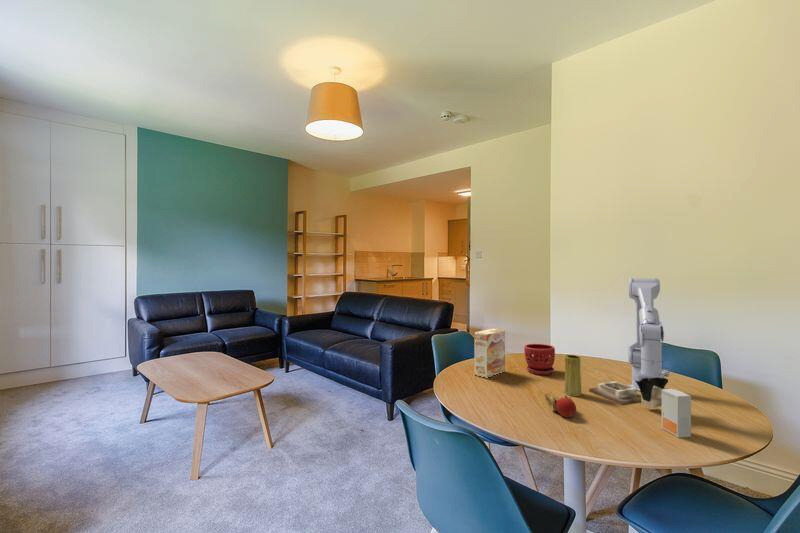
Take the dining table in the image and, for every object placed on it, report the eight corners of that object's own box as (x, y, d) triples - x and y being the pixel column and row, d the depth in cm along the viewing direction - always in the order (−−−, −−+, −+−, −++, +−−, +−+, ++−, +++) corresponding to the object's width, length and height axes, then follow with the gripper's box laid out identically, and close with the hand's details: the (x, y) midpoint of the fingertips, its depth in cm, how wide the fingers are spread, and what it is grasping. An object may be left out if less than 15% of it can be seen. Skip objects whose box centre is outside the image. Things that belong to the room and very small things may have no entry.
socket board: (612, 387, 143) (612, 378, 143) (646, 400, 130) (646, 390, 130) (589, 391, 139) (589, 382, 139) (621, 404, 126) (621, 394, 126)
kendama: (536, 402, 132) (556, 416, 114) (538, 385, 133) (558, 396, 115) (557, 406, 131) (580, 421, 114) (559, 389, 132) (582, 401, 114)
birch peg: (649, 401, 124) (649, 384, 124) (661, 406, 120) (661, 388, 120) (641, 403, 122) (641, 385, 122) (652, 407, 119) (652, 389, 119)
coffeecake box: (487, 379, 155) (487, 334, 154) (473, 375, 160) (473, 332, 160) (505, 372, 165) (505, 329, 164) (492, 368, 170) (492, 327, 170)
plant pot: (557, 370, 167) (557, 344, 167) (552, 378, 156) (552, 350, 156) (528, 366, 174) (527, 341, 174) (521, 373, 163) (521, 347, 163)
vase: (583, 397, 133) (583, 358, 133) (566, 396, 135) (566, 358, 134) (579, 391, 139) (579, 354, 139) (562, 390, 140) (562, 354, 140)
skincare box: (660, 428, 108) (660, 388, 108) (673, 427, 108) (673, 388, 108) (678, 438, 102) (678, 396, 102) (691, 437, 102) (691, 395, 102)
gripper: (647, 364, 115) (647, 406, 115) (678, 360, 119) (678, 401, 120) (626, 359, 122) (627, 399, 122) (657, 355, 126) (657, 393, 126)
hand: (651, 399), depth 121 cm, fingers closed on birch peg, 4 cm apart
